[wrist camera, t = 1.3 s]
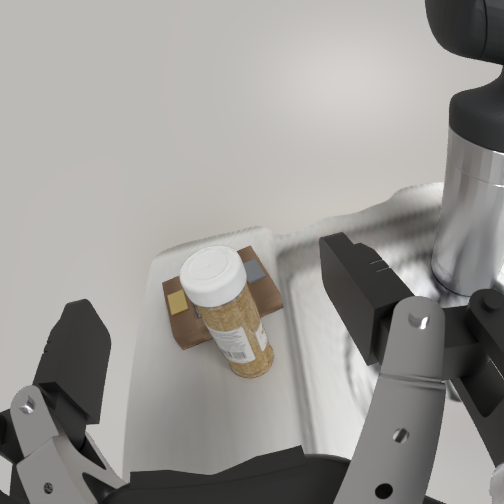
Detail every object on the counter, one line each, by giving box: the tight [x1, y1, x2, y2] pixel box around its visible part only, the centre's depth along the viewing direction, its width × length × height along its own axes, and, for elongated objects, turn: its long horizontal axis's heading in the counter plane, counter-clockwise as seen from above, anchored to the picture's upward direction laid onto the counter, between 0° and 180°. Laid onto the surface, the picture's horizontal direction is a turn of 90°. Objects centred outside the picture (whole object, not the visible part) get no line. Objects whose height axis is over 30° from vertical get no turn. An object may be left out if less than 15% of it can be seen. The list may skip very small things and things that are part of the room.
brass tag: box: [167, 289, 189, 316], centre depth 34 cm, size 2×3×1 cm, turn 20°
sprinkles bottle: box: [179, 245, 274, 378], centre depth 26 cm, size 5×5×13 cm
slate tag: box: [243, 259, 266, 284], centre depth 36 cm, size 2×3×1 cm, turn 20°
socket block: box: [162, 246, 283, 350], centre depth 36 cm, size 12×9×2 cm
